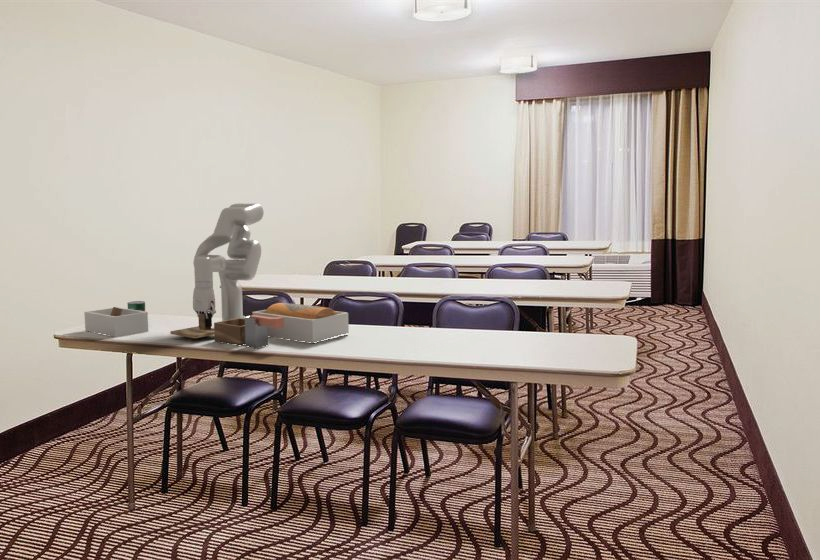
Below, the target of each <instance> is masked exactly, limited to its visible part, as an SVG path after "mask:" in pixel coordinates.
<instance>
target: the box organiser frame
mask: <svg viewBox="0 0 820 560" xmlns="http://www.w3.org/2000/svg"><path fill="white" fill-rule="evenodd" d="M266 310H267V309H263V310H257V311H252V315H258V316H266V317H273V318H277V317H284V327H283V328H279V329H273V327H271V326H268V336H270V337H269V338H272V337H276V338H275V339H278V338H283V339H282V340H284V339H290V340H289V341H291V340H297V341H305V342H311V343H314V342H317V341H321V340H324V339H327V338H331V337H334V336H338V335H341V334H346V333H349V331H350V330H349V312H345V311H338V310H337V311H336V310H334V311H335V312H336V313H337V315H332V316H328V317H323V318H318V319H314V320H310V319H303V318H296V317H288V316H281V315H274V314H266V313H265V312H266ZM252 315H251V316H252ZM349 334H350V333H349ZM297 341H296V342H297Z"/></svg>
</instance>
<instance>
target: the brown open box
mask: <svg viewBox="0 0 820 560" xmlns="http://www.w3.org/2000/svg"><path fill="white" fill-rule="evenodd" d="M213 329H214V335H213V336H214V337H213V338H214V342H215V341H216V342H217V343H221V342H223V343H222V344H227V343H229V344H228V345H232V344H237V345H236V346H238V345H243V344H246V343H245V319H243V318H237V319H231V320H226V321H222V320H221V321H217V322H214V323H213ZM216 342H215V343H216ZM243 346H244V345H243Z"/></svg>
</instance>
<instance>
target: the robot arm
mask: <svg viewBox="0 0 820 560" xmlns="http://www.w3.org/2000/svg"><path fill="white" fill-rule="evenodd" d="M263 217H264V207H263V206H262V205H261V204H260V203H245V202H244V203H240V202H239V203H234V204H231V205H229V207H225V208H223V209H222V210H221V211H220V214H219V217H218V219H217V222H216V225H215V227H214V230H213V233H212V234H211V235H209V236H208V237H207V238H205V239H204V240H203V241H202V242H201V243H200V244H199V245H198V247H197V250H196V251H195V254H194V258H193V263H192V264H193V269H194V270H193V271H194V288H193V292H192V293H193V295H192V309H193V311H194V312H195V313H196V315H197V318H199V313H205V315H206V319H205V327H206V328H208V327H211V328H212V326H213V320H212V318H213V317H214V315H215V314H217V310H216V298H215V297H216V296H215V291H214V290H215V289H214V281H213V280H214V279H213V277H214V275H213V274H214V273H218V276H219V281H220V292H221V293H220V297H221V299H220V300H221V301H220V302H221V321H226V320H231V319H237V318H243V319H245V318H246V317H249V316H250V315H247V316H245V315H244V313H243V288H242V286H241V284H240V282H239V281H252V280H253V279H254V278H255V277H256V274H257V271H258V267H259V264H260V260H261V255H262V245H261V243H260V242H259V241H258V240H255V239H251V234H252V233H251V230H250V228H249V227H248V226H250V225H253V224H256V223H258V222H260V221H261V220H262V219H263ZM226 244H227V245H228V247H227V251H226V254H227V256H228V257H229V258H230V259H226V258H225V257H224V256H222V255H219V254H210V253H211V252H212V251H213V250H215V249H217V248H220V247H222V246H224V245H226ZM208 313H209V314H208Z"/></svg>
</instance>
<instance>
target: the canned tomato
mask: <svg viewBox="0 0 820 560" xmlns="http://www.w3.org/2000/svg"><path fill="white" fill-rule="evenodd" d="M126 303H127V309H131V310H138V311H144V312H146V301H144V300H143V301H142V300H134V301H128V302H126Z"/></svg>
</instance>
